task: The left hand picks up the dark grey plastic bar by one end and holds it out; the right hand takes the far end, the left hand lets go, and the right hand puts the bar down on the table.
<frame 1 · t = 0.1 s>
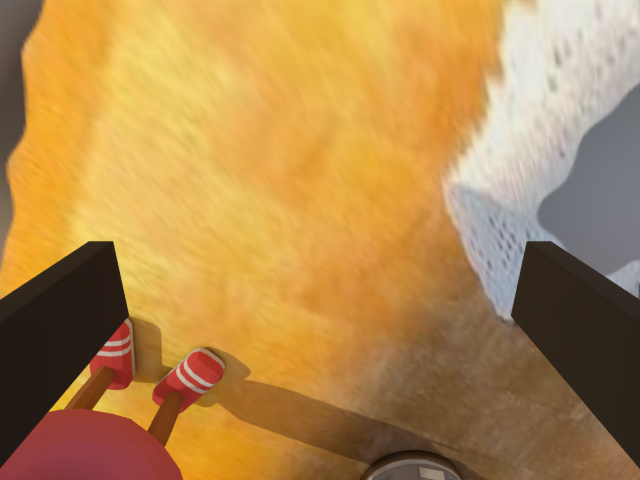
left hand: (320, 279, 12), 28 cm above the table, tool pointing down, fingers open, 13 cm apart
toy: (155, 361, 48), on the table
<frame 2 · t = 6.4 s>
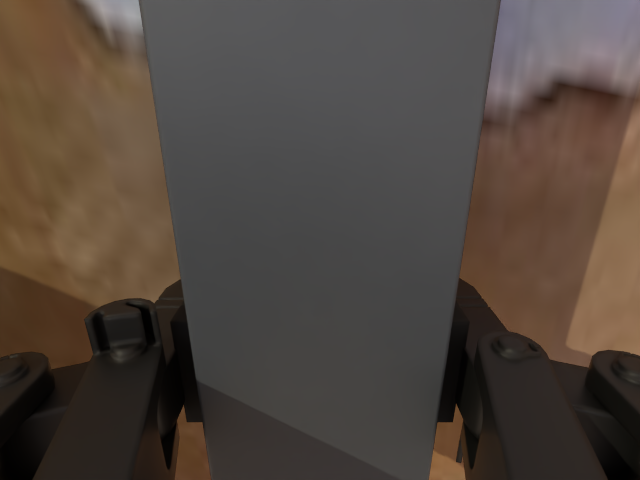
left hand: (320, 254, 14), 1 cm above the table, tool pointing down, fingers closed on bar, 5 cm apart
bar: (319, 41, 12), on the table, touching left hand
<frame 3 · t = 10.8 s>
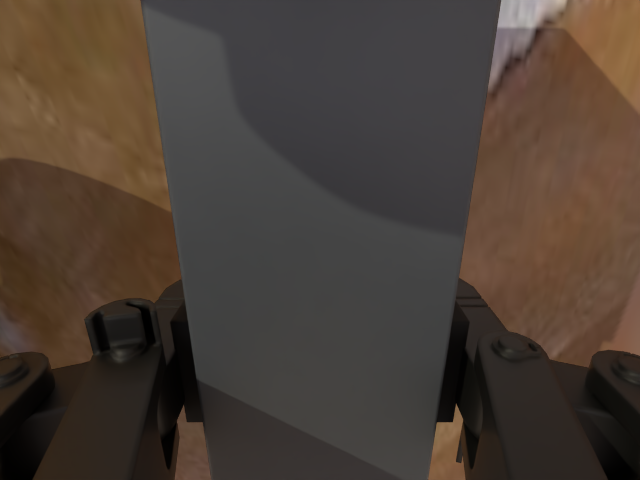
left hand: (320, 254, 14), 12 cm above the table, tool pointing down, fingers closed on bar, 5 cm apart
bar: (320, 41, 12), point 11 cm above the table, touching left hand, right hand
when the left hand's fingers open (12 cm above the table, at t = 11.7 s): bar stays where it is, held by the right hand.
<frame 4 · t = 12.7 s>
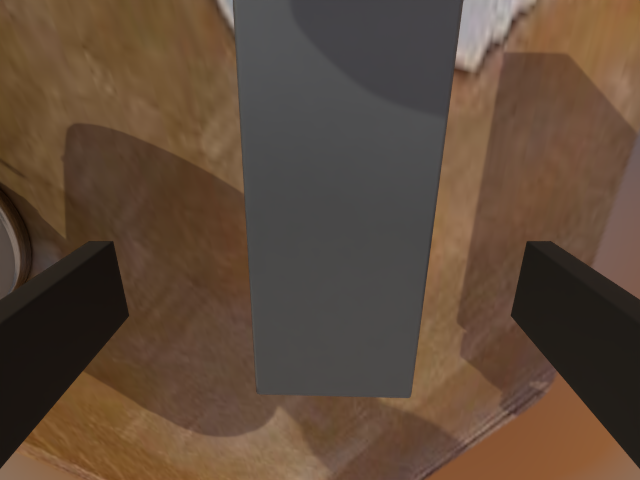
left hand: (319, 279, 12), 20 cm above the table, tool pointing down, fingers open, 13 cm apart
bar: (338, 1, 15), point 14 cm above the table, touching right hand
when the right hand's fingers open (4 cm above the table, at t = 19.0 s): bar drops 1 cm, on the table.
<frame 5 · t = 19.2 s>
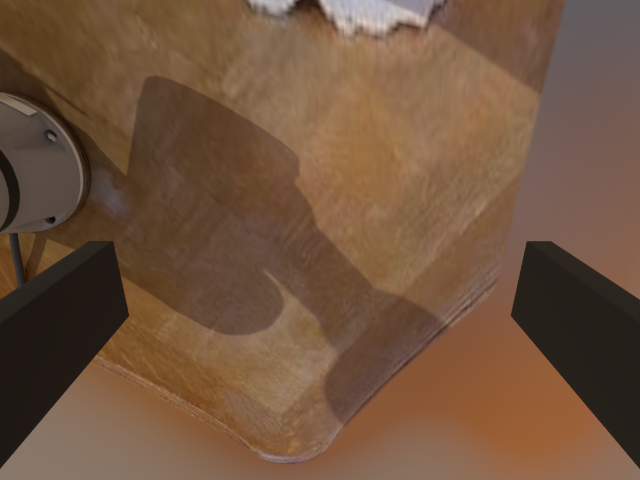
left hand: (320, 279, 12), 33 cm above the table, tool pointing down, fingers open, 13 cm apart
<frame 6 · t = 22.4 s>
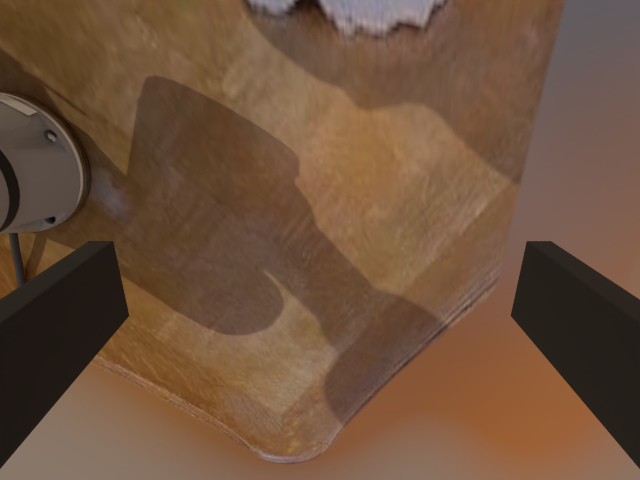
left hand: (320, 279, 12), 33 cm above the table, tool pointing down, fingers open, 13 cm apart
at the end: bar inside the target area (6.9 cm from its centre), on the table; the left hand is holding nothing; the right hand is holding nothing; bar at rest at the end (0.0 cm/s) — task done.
